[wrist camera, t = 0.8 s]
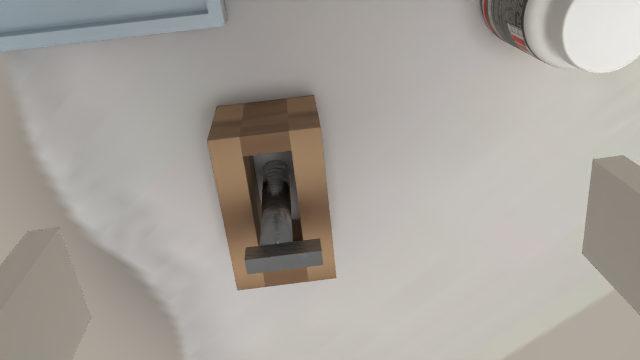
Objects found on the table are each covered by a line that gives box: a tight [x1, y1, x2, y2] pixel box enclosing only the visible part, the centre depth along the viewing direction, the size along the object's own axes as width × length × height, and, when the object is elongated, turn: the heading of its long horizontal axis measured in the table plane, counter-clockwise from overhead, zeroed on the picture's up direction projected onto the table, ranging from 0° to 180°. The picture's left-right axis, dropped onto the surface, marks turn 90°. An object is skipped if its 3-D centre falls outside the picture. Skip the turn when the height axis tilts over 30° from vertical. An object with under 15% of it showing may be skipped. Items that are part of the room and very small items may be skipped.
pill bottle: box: [482, 0, 640, 73], centre depth 30 cm, size 6×6×10 cm
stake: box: [245, 160, 323, 274], centre depth 34 cm, size 2×4×11 cm, turn 96°
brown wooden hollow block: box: [207, 95, 336, 290], centre depth 37 cm, size 12×6×6 cm, turn 6°
